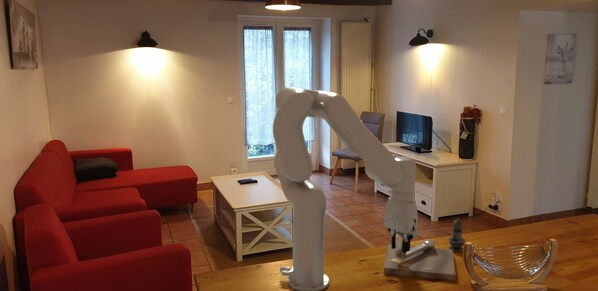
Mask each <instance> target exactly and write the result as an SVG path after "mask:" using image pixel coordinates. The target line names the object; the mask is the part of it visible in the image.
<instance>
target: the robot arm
mask: <svg viewBox="0 0 598 291" xmlns="http://www.w3.org/2000/svg"><path fill="white" fill-rule="evenodd" d="M275 106H276V108H277V112H276V114H275V116H274V120H273V124H272V134H273V139H274V142H275V143H274V144H275V146H276V153H275V156H274V159H273V161H274V166H275V168H274V169H275V171H276V174H277V177H278V181H279V183H280V186H281V190H282V192H283V194H284V197H285V199H286V200H287V202H288V203H289V204H290V205H291V206H292V207H293V209H294V210H293V213H294V214H293V218H292V219H293V220H292V266H283V265H281V266H280V268H279V272H280V273H281V276H284V277H285V276H286V277H288V279H287V282H288V283H287V284H288V286H289V287H290V288H292V289H293V290H295V291H322V290H324V289H326V288H327V287H328V286H329V284H330V279H329V276H328V275H326V274H325V216H326V211H327V198H326V195H325V192H324V191H323V189H321V187H319V186H318V185H317V184H316V183H314V182H313V181H311V176H312V174H313V171H314V165H313V160H312V159H311V158H312V157H311V155H310V152H309V149H308V146H307V143H306V140H305V136H304V130H303V129H304V128H303V127H304V125H305V124H304V123H305V121H306V119H307V118H315V119H318V118H319V119H323V120H324V121H325V122H326V123H327V125H328V126H329V127H330V128H331V129H332V131H333V132H334V133H335V135H336V136H337V137H338V138H339V140H340V141H341V143H342V145H344V146H345V148H347V149H348V150H349V151H350V152H351V153H353V154H355V155H356V156H358V158H360V159H361V160H362V161H364V163H365V167H364V171H365V174H366V175H367V176H368V178H369V179H371V180H373V181H374V182H376V183H379V184H380V185H382V186H384V187H387V188H389V189H388V193H390V196H389V197H388V199H387V202H386V206H385V214H384V222H383V225H384V227H385V228H386V229H387V231H388V232H389V236H390V237H391V243H390V244H392V249H395V234H396V231H399V232H402V233H404V241H403V242H402V252H403V253H406V252H408V251H410V246H411V240H413V239H414V238H416V237H418V236H421V233H420V230H419V228H418V217H419V216H418V207H417V202H416V200H415V195H416V194H415V193H416V192H415V190H416V188H415V187H416V171H417V170H416V168H417V166H416V164H417V162H416V160H415V159H414V158H413V157H410V156H396V157H395V156H394V155H393V153H391V151H390V150H389V148H387V147H386V145H385V144H384V143H382V142H381V141H380V140H379V139H378V138H377V136H375V134H374V133H373V132H372V131H371V130H370V129H369V128H368V127H367V126H366V124H365V123H364V122H363V120H362V119H361V118H360V116H359V115H358V114H357V113H356V111H355V110H354V109H353V107H352V106H351V104H350V103H349V102H348V101H347V99H346V98H345V97H344V96H343V95H341V94H339V93H337V92H331V91H325V90H314V89H306V88H301V87H295V86H294V87H293V86H285V87H283V88H282V89H280V90H279V91H278V93H277V94H276V97H275Z"/></svg>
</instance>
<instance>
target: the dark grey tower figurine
mask: <svg viewBox="0 0 598 291" xmlns="http://www.w3.org/2000/svg"><path fill="white" fill-rule="evenodd" d="M463 231H464V230H463V221H462V220H460V217H457V219H455V220H454V221H453V228H452V236H451V237H448V241H449V245H451V246H449V247H448V249H449V250H452V252H453V253H463V252H464V251H463V248H464V247H463V246H465V243H466V239H465V238H464V237H463V234H462V233H463Z"/></svg>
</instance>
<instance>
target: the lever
mask: <svg viewBox="0 0 598 291" xmlns="http://www.w3.org/2000/svg"><path fill="white" fill-rule="evenodd" d="M403 241H404V233H402V232H399V231H396V234H395V256H396V257H398V258H399V259H402V260H404V259H406V258H408V257H410V256H412V255H415V254H417V253H419V252H421V251H423V250H425V249H428V248H434V247H435V246H436V245H435V243H436V242H435V241H434V240H432V239H423V240H422V243H421V244H419V245H415V247H414V248H412V249H410V251H408V252H406V253H403V252H402V242H403Z"/></svg>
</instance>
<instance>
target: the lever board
mask: <svg viewBox="0 0 598 291" xmlns="http://www.w3.org/2000/svg"><path fill="white" fill-rule="evenodd" d="M414 247H416V245H415V246H412V245H410V249H412V248H414ZM386 249H387V250H386V252H385V260H384V263H383V264H384V265H383V274H386V275H395V276H404V277H405V276H406V277H413V278H414V277H415V278H422V279H423V278H424V279H434V280H443V281H452V282H456V278H457V277H456V276H457V274H456V267H455V260H454V256H453V253H454V252H453V251H452V250H450V249H449V248H448V249H447V248H438V247H437V248H436V247H435V246H434V248H428V249H425V250H423V251H421V252H419V253H417V254H415V255H412V256H410V257H408V258H406V259H404V260H402V259H399V258H398V257H396V256H395V249H392V244H391V243H389V244H387V248H386Z"/></svg>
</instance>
